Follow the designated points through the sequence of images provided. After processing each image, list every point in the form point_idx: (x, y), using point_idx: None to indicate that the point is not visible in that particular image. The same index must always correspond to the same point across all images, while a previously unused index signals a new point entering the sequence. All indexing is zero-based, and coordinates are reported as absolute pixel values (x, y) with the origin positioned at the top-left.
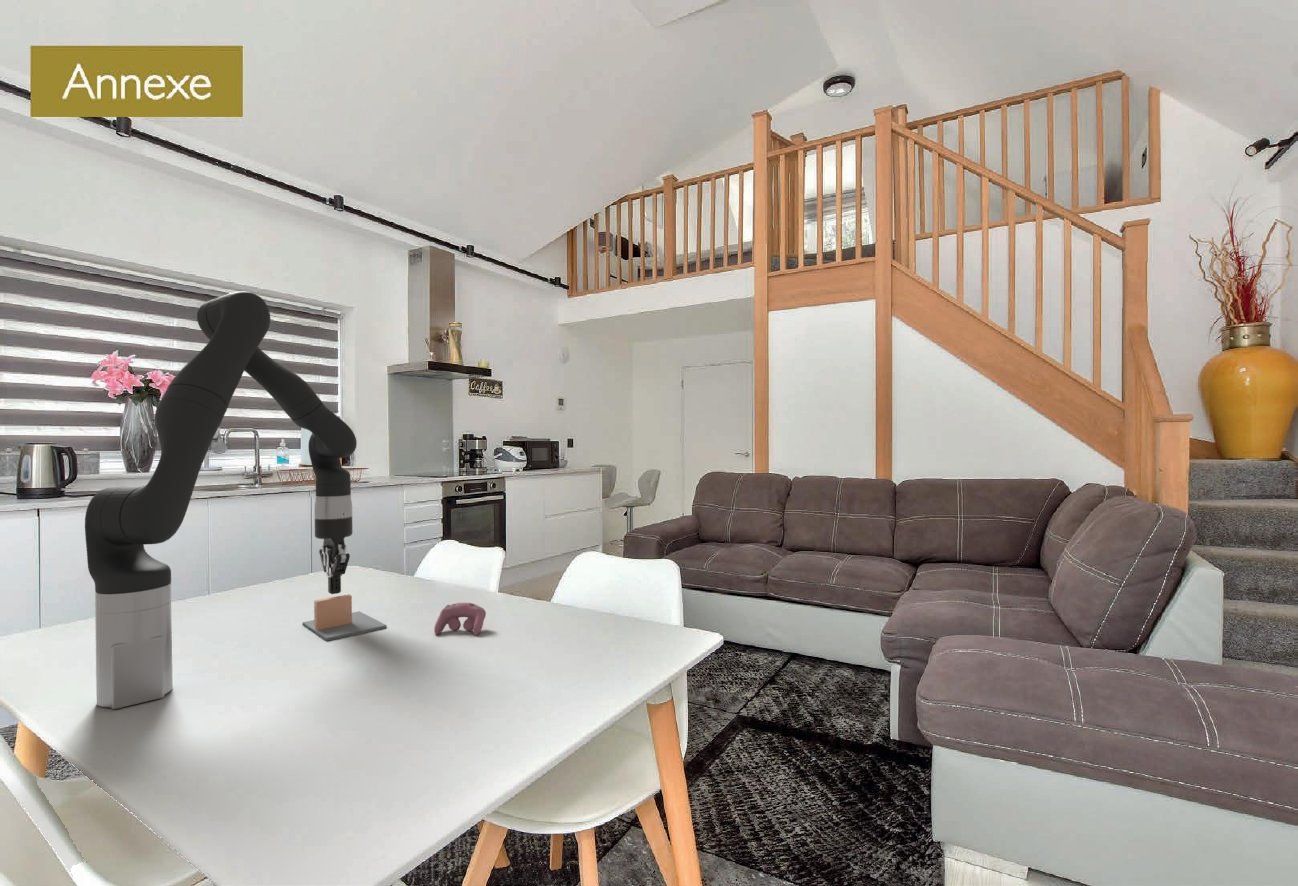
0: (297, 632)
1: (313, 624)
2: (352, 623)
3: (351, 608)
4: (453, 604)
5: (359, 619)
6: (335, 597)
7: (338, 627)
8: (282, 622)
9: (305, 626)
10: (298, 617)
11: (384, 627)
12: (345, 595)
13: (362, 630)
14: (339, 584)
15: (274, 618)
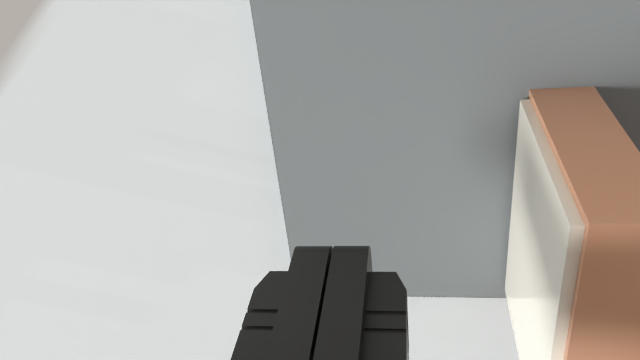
0: (439, 331)
1: (399, 269)
2: (610, 86)
3: (632, 147)
4: None
5: (534, 6)
6: (607, 345)
7: None
8: (161, 327)
9: None
10: (91, 254)
11: None
12: (609, 262)
13: None
14: (404, 333)
15: (48, 331)
